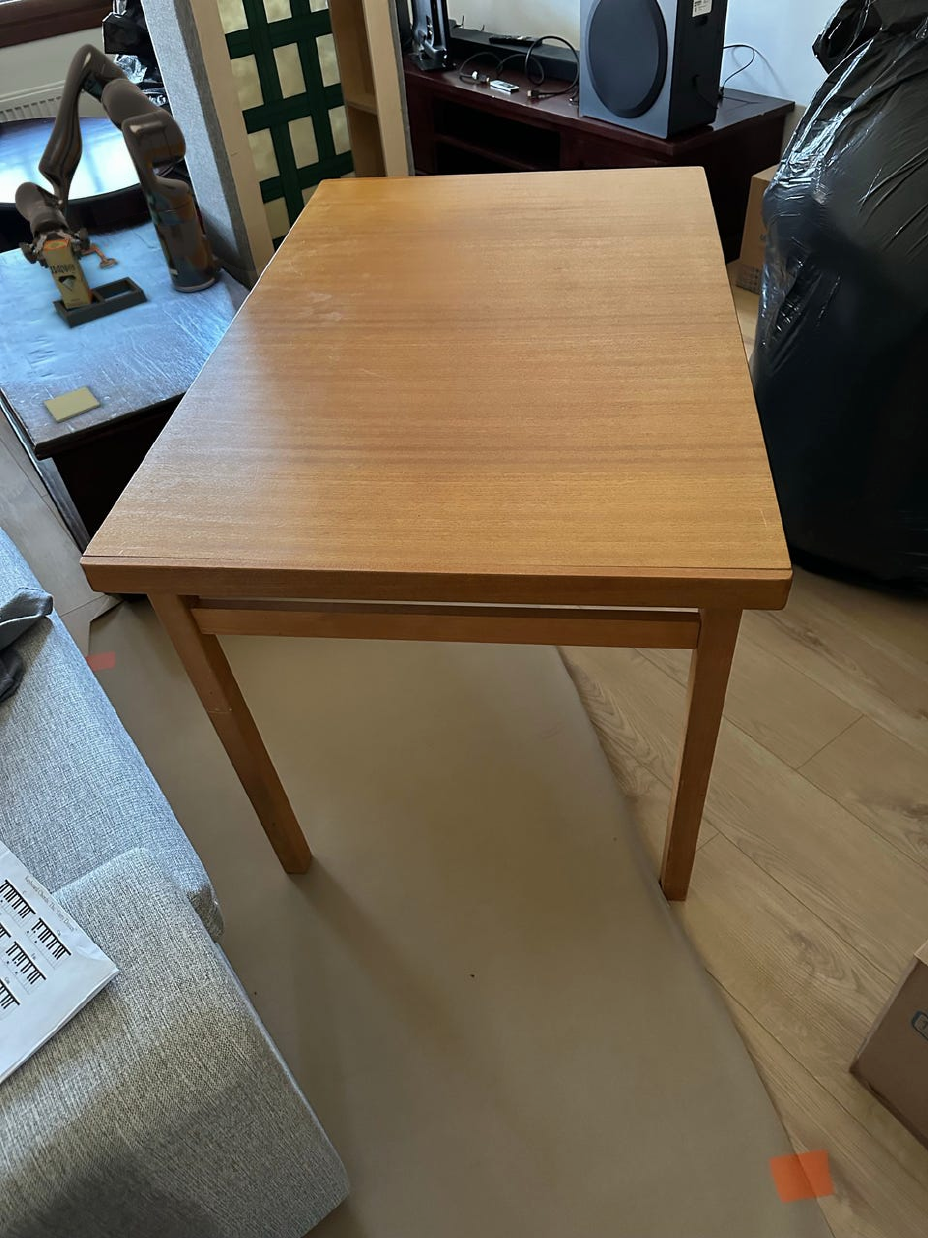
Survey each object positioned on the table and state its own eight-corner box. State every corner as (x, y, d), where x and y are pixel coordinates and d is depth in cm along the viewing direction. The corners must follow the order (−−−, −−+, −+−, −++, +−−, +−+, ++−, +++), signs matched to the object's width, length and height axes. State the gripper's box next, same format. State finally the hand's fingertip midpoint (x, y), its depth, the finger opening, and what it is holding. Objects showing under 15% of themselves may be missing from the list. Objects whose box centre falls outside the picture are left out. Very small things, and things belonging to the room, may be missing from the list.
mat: (86, 388, 158) (85, 386, 158) (100, 406, 154) (99, 403, 153) (44, 404, 155) (43, 401, 155) (57, 422, 151) (56, 420, 150)
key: (78, 251, 203) (94, 272, 194) (76, 248, 202) (92, 268, 193) (101, 242, 205) (118, 263, 195) (99, 239, 204) (116, 259, 195)
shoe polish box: (90, 304, 177) (67, 247, 168) (66, 308, 176) (42, 251, 167) (92, 294, 180) (69, 237, 171) (68, 298, 179) (44, 241, 171)
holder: (132, 287, 187) (128, 276, 185) (147, 300, 182) (143, 289, 180) (57, 312, 181) (52, 301, 179) (70, 327, 176) (65, 316, 174)
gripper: (91, 239, 184) (104, 268, 174) (24, 256, 181) (32, 286, 170) (77, 204, 179) (90, 231, 168) (7, 220, 175) (16, 249, 165)
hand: (61, 259), depth 169 cm, fingers closed on shoe polish box, 6 cm apart
